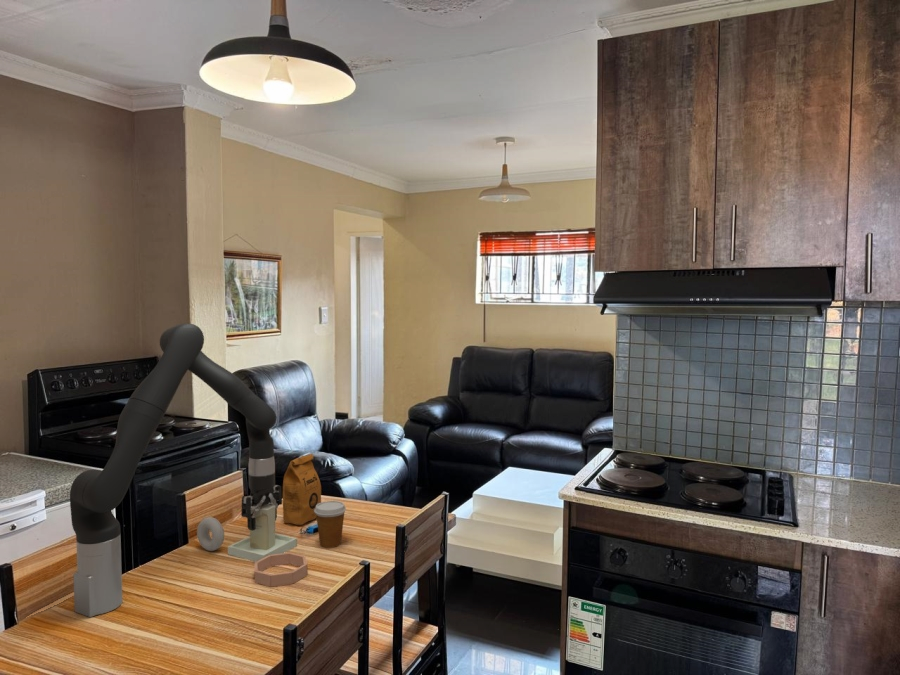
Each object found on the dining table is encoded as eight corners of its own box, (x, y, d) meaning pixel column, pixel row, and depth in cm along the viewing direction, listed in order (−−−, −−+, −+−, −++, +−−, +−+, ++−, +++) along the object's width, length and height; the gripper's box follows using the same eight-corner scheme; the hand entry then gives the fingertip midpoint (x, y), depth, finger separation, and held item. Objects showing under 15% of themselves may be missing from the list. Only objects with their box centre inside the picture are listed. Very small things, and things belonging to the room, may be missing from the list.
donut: (227, 551, 178) (226, 518, 178) (217, 555, 175) (216, 522, 175) (204, 545, 183) (203, 512, 183) (194, 549, 180) (194, 516, 180)
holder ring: (282, 590, 154) (282, 578, 154) (243, 579, 160) (243, 568, 160) (316, 569, 166) (316, 558, 166) (279, 560, 172) (279, 549, 172)
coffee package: (326, 517, 207) (325, 454, 206) (301, 528, 197) (300, 462, 195) (304, 512, 212) (303, 451, 211) (278, 523, 201) (277, 458, 200)
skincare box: (249, 547, 178) (248, 507, 178) (258, 542, 182) (258, 502, 182) (267, 550, 176) (266, 509, 176) (276, 544, 180) (276, 505, 180)
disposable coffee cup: (342, 550, 179) (342, 510, 179) (311, 549, 180) (310, 510, 179) (348, 537, 189) (348, 500, 188) (318, 537, 189) (318, 500, 188)
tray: (263, 563, 170) (263, 555, 170) (227, 554, 176) (227, 546, 176) (297, 545, 182) (297, 538, 182) (262, 537, 189) (262, 530, 189)
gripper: (253, 479, 170) (254, 535, 171) (288, 467, 183) (288, 519, 184) (234, 476, 173) (235, 531, 174) (269, 464, 186) (270, 515, 187)
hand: (262, 525), depth 179 cm, fingers open, 8 cm apart
